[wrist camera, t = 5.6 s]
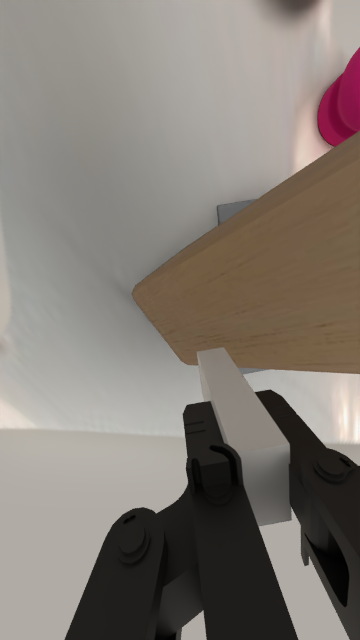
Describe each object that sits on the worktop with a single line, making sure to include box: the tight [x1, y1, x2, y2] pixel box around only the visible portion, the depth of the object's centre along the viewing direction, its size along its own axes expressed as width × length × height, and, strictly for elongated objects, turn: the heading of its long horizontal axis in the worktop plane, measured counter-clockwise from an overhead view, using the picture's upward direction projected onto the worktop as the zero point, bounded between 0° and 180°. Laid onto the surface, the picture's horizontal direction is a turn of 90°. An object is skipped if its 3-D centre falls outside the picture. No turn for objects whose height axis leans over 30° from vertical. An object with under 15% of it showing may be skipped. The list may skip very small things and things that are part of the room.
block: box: [132, 131, 360, 374], centre depth 17 cm, size 10×10×20 cm
